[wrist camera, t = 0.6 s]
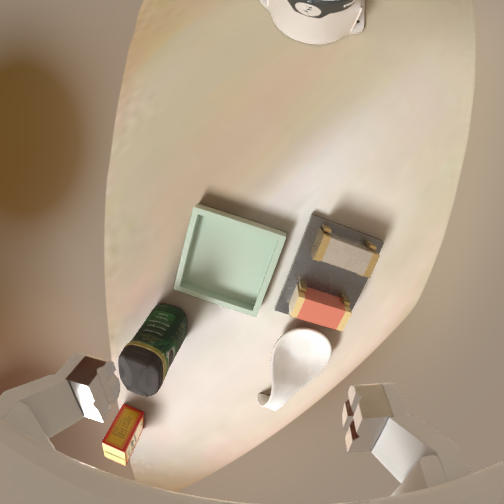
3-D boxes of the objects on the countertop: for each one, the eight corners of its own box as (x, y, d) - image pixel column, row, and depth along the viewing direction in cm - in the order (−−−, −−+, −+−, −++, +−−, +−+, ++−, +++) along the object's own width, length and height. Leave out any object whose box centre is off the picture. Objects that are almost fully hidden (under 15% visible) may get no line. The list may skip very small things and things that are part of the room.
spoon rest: (287, 311, 57) (287, 332, 50) (339, 330, 57) (345, 351, 51) (244, 390, 65) (240, 412, 58) (290, 403, 65) (290, 425, 58)
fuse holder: (311, 214, 50) (315, 222, 44) (382, 240, 50) (393, 251, 45) (274, 307, 56) (273, 324, 51) (340, 327, 57) (345, 344, 51)
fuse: (297, 283, 53) (298, 296, 49) (346, 299, 54) (351, 312, 49) (289, 302, 55) (289, 316, 50) (337, 317, 55) (342, 331, 50)
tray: (198, 203, 51) (193, 206, 49) (286, 232, 52) (286, 237, 49) (178, 282, 57) (173, 289, 54) (257, 309, 57) (256, 317, 54)
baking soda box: (123, 403, 72) (101, 443, 57) (144, 412, 72) (124, 453, 57) (124, 420, 75) (104, 457, 60) (143, 428, 75) (125, 467, 60)
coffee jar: (153, 298, 59) (111, 351, 41) (190, 308, 58) (157, 367, 41) (151, 335, 62) (116, 391, 44) (185, 345, 62) (157, 405, 44)
